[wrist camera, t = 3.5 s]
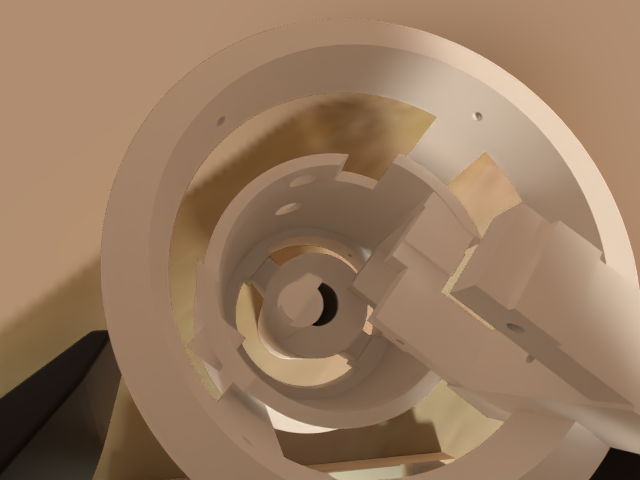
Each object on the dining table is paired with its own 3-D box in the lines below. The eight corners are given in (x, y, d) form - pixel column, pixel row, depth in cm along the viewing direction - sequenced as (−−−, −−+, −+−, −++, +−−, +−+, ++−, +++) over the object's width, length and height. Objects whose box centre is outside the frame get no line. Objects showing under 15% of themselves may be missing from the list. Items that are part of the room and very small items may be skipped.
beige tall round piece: (304, 439, 16) (643, 933, 2) (180, 340, 17) (-192, 240, 3) (387, 311, 19) (796, 171, 5) (277, 227, 19) (358, -139, 5)
